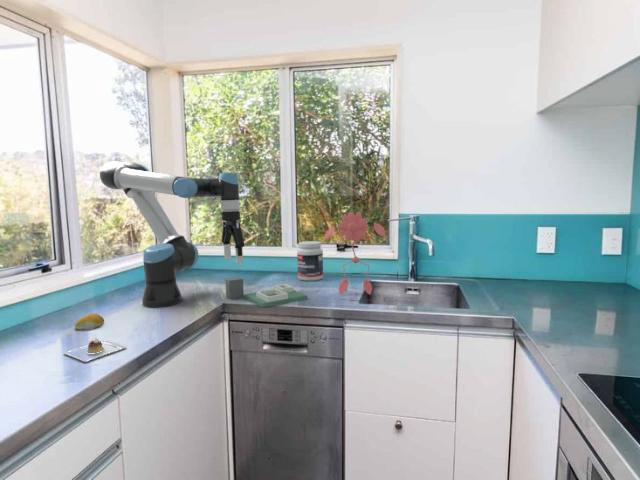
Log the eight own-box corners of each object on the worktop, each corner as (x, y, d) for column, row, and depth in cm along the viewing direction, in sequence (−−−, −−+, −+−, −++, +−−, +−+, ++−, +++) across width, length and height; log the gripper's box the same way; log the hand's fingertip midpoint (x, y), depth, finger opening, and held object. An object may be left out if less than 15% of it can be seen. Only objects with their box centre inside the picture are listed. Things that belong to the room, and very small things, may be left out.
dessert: (63, 356, 115) (61, 340, 115) (105, 342, 125) (103, 327, 125) (85, 365, 109) (83, 348, 108) (127, 350, 119) (126, 334, 118)
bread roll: (106, 321, 146) (105, 310, 145) (98, 329, 137) (97, 317, 137) (80, 323, 144) (79, 312, 144) (71, 331, 135) (70, 319, 135)
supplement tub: (294, 281, 202) (292, 244, 199) (302, 275, 214) (301, 240, 212) (319, 282, 198) (318, 244, 196) (326, 276, 210) (325, 241, 208)
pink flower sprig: (328, 290, 181) (326, 211, 176) (387, 292, 175) (386, 210, 170) (319, 300, 167) (317, 214, 162) (383, 303, 160) (382, 213, 155)
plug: (230, 299, 170) (229, 280, 169) (226, 297, 174) (225, 279, 173) (245, 297, 173) (244, 278, 172) (241, 295, 177) (240, 276, 176)
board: (262, 307, 157) (262, 298, 157) (244, 297, 172) (244, 289, 172) (307, 298, 168) (307, 290, 167) (286, 290, 183) (286, 282, 183)
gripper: (251, 210, 160) (253, 264, 163) (228, 209, 181) (231, 257, 184) (232, 211, 156) (235, 266, 159) (212, 210, 177) (215, 258, 180)
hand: (233, 261), depth 171 cm, fingers open, 13 cm apart
